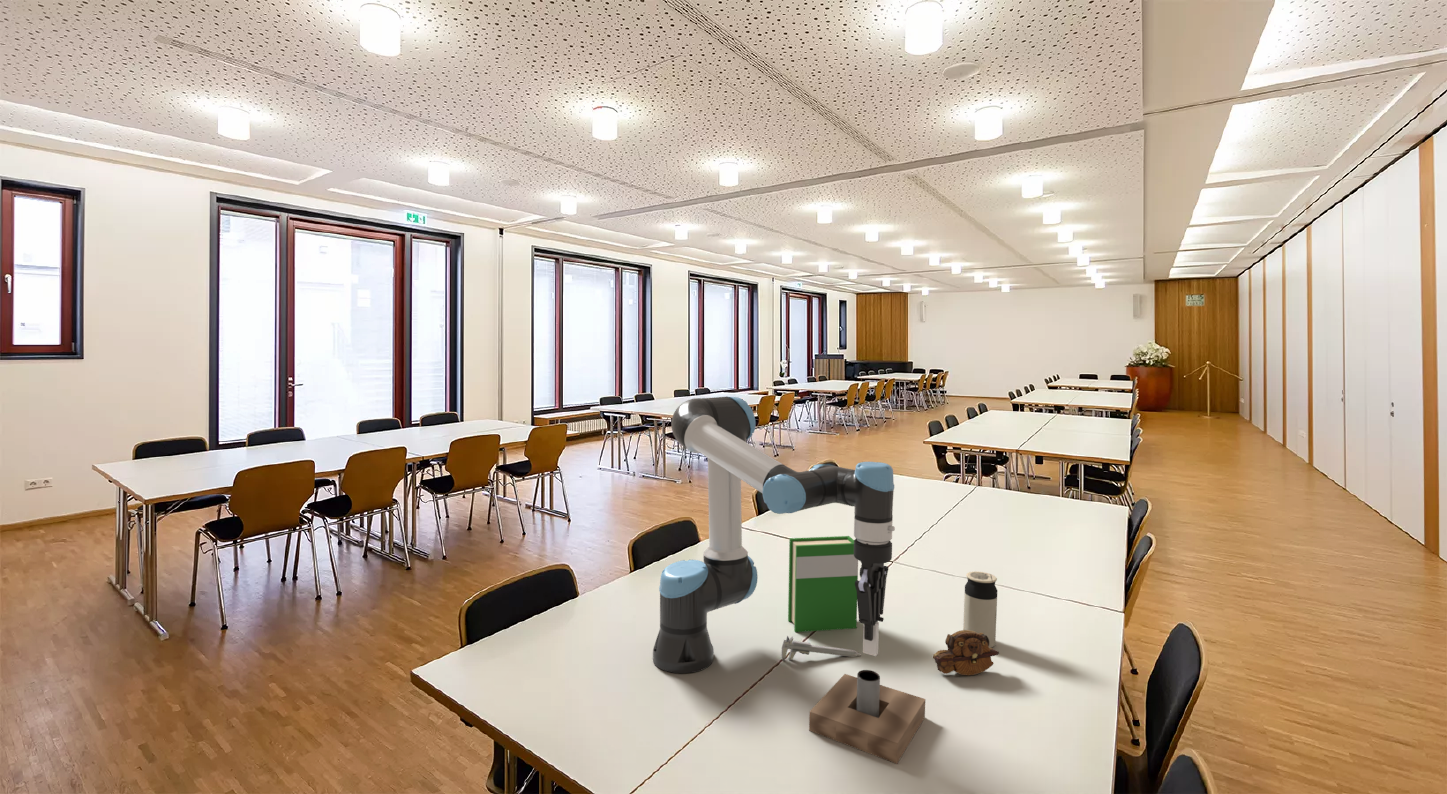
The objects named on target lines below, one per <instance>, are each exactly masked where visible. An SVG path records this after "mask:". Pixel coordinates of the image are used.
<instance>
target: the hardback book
mask: <svg viewBox="0 0 1447 794" xmlns="http://www.w3.org/2000/svg"><path fill="white" fill-rule="evenodd" d="M854 540H855V539H853V538H852V537H851V536H849V535H838V536H835V535H834V536H818V537H817V536H816V537H814V536H813V537H790V538H789V541H788V542H789V544H788V545H789V548H788V552H789V553H788V601H787V602H788V603H787V607H788V608H787V609H788V610H787V622H788V623H793V629H794V630H793V631H794V632H795V633H802V632H803V633H804V632H817V631H819V632H821V631H834V630H835V631H837V630H849V629H850V630H851V629H857V626H858V621H857V620H858V602H857V591H856V587H855V581H856V580H858V581H859V572H858V571H859V560H857V559H856V558H855V557H854Z"/></svg>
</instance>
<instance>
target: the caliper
mask: <svg viewBox="0 0 1447 794" xmlns="http://www.w3.org/2000/svg"><path fill="white" fill-rule="evenodd" d="M788 650H790V651H789V654H788V661H789V662H792V661H793V659H794V657H795V656H796V654H797V652H798V653H800V654H802V655H808V656H809V655H810V653H817V654H825V655H835V656H842V657H848V658H849V657H850V658H853V657H858V656H859V657H861V656H862V654H861V653H859V652H857V651H856V650H855V649H848V648H842V647H833V646H827V645H826V646H823V645H817V644H811V643H810V642H806V641H798V640H794V637H793V636H791V637H789V636H788V635H786V639H783V642H782V646H781V660H782V661H783V662H785V660H786V657H787V653H788Z"/></svg>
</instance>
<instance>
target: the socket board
mask: <svg viewBox="0 0 1447 794" xmlns="http://www.w3.org/2000/svg"><path fill="white" fill-rule="evenodd" d="M856 709H857V677H856V676H853V675H850V674H847V673H844V674H843V675H842V676H841V677H840V678H839V679H838V681H836V682H835V684H834V685H832V687H831V688H830V689H829V690H828V691H827V692H825V694H824V695H823V696H822V697H821V698H820V699H819V701H818V702H817V703H816V704H815V705H814V706H813V707H812V708H811V709H810V710H809V718H808V719H809V721H808V725H809V726H808V730H809V731H810V732H812V733H815V734H817V735H820V736H822V737H825V738H828V739H830V740H833V741H836V742H838V743H841V744H844V745H846V746H849V747H851V748H854V749H856V750H859V751H862V752H865V753H866V754H869V755H872V756H875V757H877V758H880V759H883V760H886V761H888V762H891V763H894V764H898V763H899V761H900V760H901V758H902V756H903V754H904V753H905V751H906V750H907V749H908V746H909V745H910V743H911V741H912V740H913V738H914V736H915V735H916V733H917V731H918V730H919V728H920V727H921V725H922V723H923V722H924V719H925V717H926V698H923V697H920V696H917V695H914V694H910V693H907V692H905V691H901V690H898V689H895V688H892V687H888V686H885V685H881V684H880V697H879V718H877V717H874V716H871V715H868V714H865V713H862V712H859V711H857V710H856Z"/></svg>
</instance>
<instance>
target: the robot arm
mask: <svg viewBox="0 0 1447 794" xmlns="http://www.w3.org/2000/svg"><path fill="white" fill-rule="evenodd" d="M671 430H672V435H673V437H674V438H675V440H676V441H677V442H678V444H679V445H681V446H682V447H683V448H685V449H686V450H688V451H689V452H691V453H694V454H702V455H703V456H704V457H706V458H707V479H708V480H707V492H708V494H707V495H708V496H707V497H708V544H709V545H708V547H707V548H706V549H705V550H704V551H703V561H702V560H700V559H699V560H698V559H688V560H685V559H682V560H678V561H675V562H673V563H671V564H668V565H667V566H666V567H665V568H663V570H662V571H661V574H660V581H659V587H658V588H659V629H658V630H659V631H658V633H657V637H656V639H655V642H654V646H653V649H652V662H653V664H654V666H655V667H657V668H658V669H660V670H662V671H664V672H669V673H674V674H689V673H690V674H691V673H695V672H699V671H702V670H704V669H706V668H708V667H709V666H710V665H712V663H713V662H714V649H715V648H714V646H713V643H712V641H711V637H710V634H709V631H708V627H707V626H708V625H707V624H708V613H709V612H712V611H715V610H719V609H721V608H724V607H727V606H731V605H736V604H739V603H740V602H742V601H744V600H746V599H749V598H750V597H751V596H752V595H753V593H754V592H755V591H756V587H757V585H758V576H759V575H758V569H757V567H756V565H755V562H754V560H753V559H752V558H751V557H750V556H749V554H748V553H749V551H747V549H746V548H745V547H744V546H743V539H742V538H743V530H742V528H743V527H742V526H743V525H742V523H743V522H742V481H743V482H745V483H746V484H747V485H749V486H750V487H752V488H753V489H755V490H757V492H759V493H761V494H762V498H763V502H764V503H765V504H766V506H767V509H768V510H769V511H771V512H772V513H774V514H779V515H781V514H782V515H783V514H793V513H797V512H799V511H803V510H807V509H811V508H817V507H822V506H826V505H830V504H840V505H844V506H849V507H854V517H853V518H854V519H853V537H854V538H855V539H853V540H854V557H855V558H856V559H857V560H858V562H860V563H861V565H860V567H859V568H860V569H859V577H860V579H858V580H856V581H855V587H856V591H857V616H858V623H859V624H863V625H862V628H863V629H862V630H863V631H862V653H863V654H866V655H870V656H873V657H877V655H878V654H879V633H880V631H879V630H880V629H879V627H880V626H879V625H880V622H881V623H883V621H884V620H885V619H884V617H882V616H881V615H883V614H884V608H885V607H884V606H885V596H886V586H887V585H886V584H887V577H888V572H889V566H888V565H885V564H887V563H890V561H891V560H892V558H893V542H892V539H893V532H894V531H895V529H896V528H895V526H893V511H894V510H893V506H894V492H895V491H894V490H895V484H894V469H893V467H892V465H890V464H888V463H886V462H881V461H880V462H878V461H877V462H876V461H862V462H858V463H857V464H856V465H855V468H854V469H851V468H847V467H843V466H842V467H841V466H835V465H833V464H824V463H823V464H820V463H817V464H814V465H813V466H812V467H811V468H810V469H809V470H804V471H796V470H794V469H792V468H791V467H788V466H787V465H785V464H783V463H782V462H780V461H778V460H776V459H775V458H773V457H772V456H770V455H768V454H766V453H765V452H763V451H762V450H761V449H758V448H756V447H755V446H753V445H751V443H750V444H749V443H748V442H747V440H749V439H750V438H751V437H752V436H753V434H754V433H755V430H756V418H755V413H754V411H753V409H752V407H751V406H750V405H749V404H748V402H747V401H746V400H745V399H743V398H742V397H739V396H738V397H736V396H717V397H702V398H701V397H700V398H698V397H697V398H695V397H694V398H691V399H688V400H685V401H684V402H682V403H681V404H679V406H677V407H676V409H675V411H674V413H673V415H672V418H671Z"/></svg>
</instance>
